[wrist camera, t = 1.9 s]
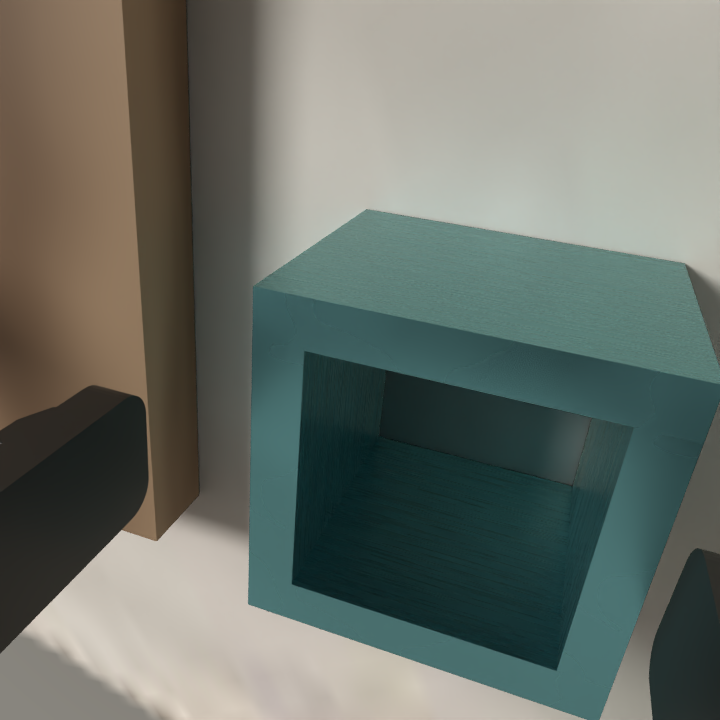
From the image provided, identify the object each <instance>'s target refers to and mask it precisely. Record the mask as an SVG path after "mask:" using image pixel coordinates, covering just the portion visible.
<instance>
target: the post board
mask: <svg viewBox="0 0 720 720" xmlns="http://www.w3.org/2000/svg"><path fill="white" fill-rule="evenodd" d="M91 385H98V386H101V387H105V388H109V389H113V390H116V391H120V392H124V393H127V394H131V395H135V396H138V397H140V398H141V399H142V400H143V402H144V404H145V408H146V423H147V447H148V470H149V482H148V489H147V493H146V496H145V499H144V501H143V503H142V505H141V507H140V509H139V511H138V512H137V514H136V515H135V516H134V517H133V519H132V520H131V521H130V522H129V523H128V524H127V525H126V526H125V527H124V528H123V529H122V530H123V531H127V532H130V533H133V534H136V535H139V536H142V537H145V538H148V539H151V540H154V541H158V539H159V538H160V537H161V536H162V535H163V534H164V533H165V532H166V531H167V530H168V528H169V527H170V526H171V525H172V524H173V523H174V522H175V521H176V520H177V519H178V517H179V516H180V515H181V514H182V513H183V512H184V511H185V510H186V509H187V508H188V507H189V505H190V504H191V503H192V502H193V501H194V500H195V499H196V498H197V497H198V496H199V469H198V431H197V394H196V357H195V320H194V283H193V245H192V208H191V171H190V134H189V96H188V59H187V22H186V0H0V430H2V429H3V428H5V427H6V426H8V425H10V424H11V423H13V422H14V421H16V420H17V419H20V418H23V417H26V416H29V415H31V414H34V413H37V412H40V411H43V410H46V409H49V408H51V407H57V406H59V405H60V404H62V403H63V402H65V401H66V400H68V399H69V398H71V397H72V396H74V395H75V394H77V393H78V392H80V391H81V390H83V389H84V388H86V387H88V386H91Z"/></svg>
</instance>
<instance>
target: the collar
mask: <svg viewBox="0 0 720 720" xmlns="http://www.w3.org/2000/svg"><path fill="white" fill-rule="evenodd" d="M387 370H389V371H393V372H397V373H402V374H406V375H410V376H415V377H419V378H423V379H427V380H432V381H436V382H440V383H445V384H449V385H453V386H458V387H462V388H466V389H471V390H475V391H479V392H484V393H488V394H492V395H497V396H501V397H505V398H510V399H514V400H518V401H523V402H527V403H531V404H536V405H540V406H544V407H548V408H553V409H557V410H561V411H566V412H570V413H574V414H579V415H583V416H587V417H592V419H591V423H590V426H589V430H588V433H587V437H586V440H585V444H584V447H583V451H582V454H581V458H580V461H579V465H578V468H577V472H576V476H575V479H574V483H573V486H570V485H566V484H562V483H558V482H554V481H551V480H547V479H543V478H539V477H535V476H531V475H527V474H523V473H520V472H516V471H512V470H508V469H504V468H500V467H496V466H492V465H488V464H485V463H481V462H477V461H473V460H469V459H465V458H461V457H457V456H454V455H450V454H446V453H442V452H438V451H434V450H430V449H426V448H423V447H419V446H415V445H411V444H407V443H403V442H399V441H395V440H392V439H388V438H384V437H380V436H379V432H380V423H381V414H382V406H383V397H384V389H385V380H386V372H387ZM719 402H720V367H719V364H718V361H717V358H716V355H715V352H714V349H713V346H712V343H711V340H710V337H709V334H708V331H707V328H706V325H705V322H704V319H703V316H702V314H701V311H700V308H699V305H698V302H697V299H696V296H695V293H694V290H693V287H692V284H691V281H690V278H689V275H688V272H687V269H686V266H685V263H679V262H673V261H667V260H661V259H655V258H650V257H644V256H638V255H632V254H626V253H620V252H614V251H608V250H603V249H597V248H591V247H585V246H579V245H573V244H567V243H562V242H556V241H550V240H544V239H538V238H532V237H526V236H520V235H515V234H509V233H503V232H497V231H491V230H485V229H479V228H474V227H468V226H462V225H456V224H450V223H444V222H438V221H432V220H427V219H421V218H415V217H409V216H403V215H397V214H391V213H385V212H380V211H374V210H368V209H366V210H365V211H363V212H362V213H360V214H359V215H357V216H356V217H354V218H353V219H351V220H350V221H349V222H347V223H346V224H344V225H343V226H341V227H340V228H338V229H337V230H335V231H334V232H332V233H331V234H329V235H328V236H326V237H325V238H323V239H322V240H321V241H319V242H318V243H316V244H315V245H313V246H312V247H310V248H309V249H307V250H306V251H304V252H303V253H301V254H300V255H298V256H297V257H296V258H294V259H293V260H291V261H290V262H288V263H287V264H285V265H284V266H282V267H281V268H279V269H278V270H276V271H275V272H273V273H272V274H270V275H269V276H268V277H266V278H265V279H263V280H262V281H260V282H259V283H257V284H256V285H254V286H253V330H252V394H251V459H250V524H249V588H248V604H249V605H252V606H255V607H258V608H261V609H264V610H267V611H270V612H272V613H275V614H278V615H281V616H284V617H287V618H290V619H293V620H296V621H299V622H302V623H305V624H308V625H311V626H314V627H317V628H319V629H322V630H325V631H328V632H331V633H334V634H337V635H340V636H343V637H346V638H349V639H352V640H355V641H358V642H361V643H364V644H366V645H369V646H372V647H375V648H378V649H381V650H384V651H387V652H390V653H393V654H396V655H399V656H402V657H405V658H408V659H411V660H413V661H416V662H419V663H422V664H425V665H428V666H431V667H434V668H437V669H440V670H443V671H446V672H449V673H452V674H455V675H458V676H460V677H463V678H466V679H469V680H472V681H475V682H478V683H481V684H484V685H487V686H490V687H493V688H496V689H499V690H502V691H504V692H507V693H510V694H513V695H516V696H519V697H522V698H525V699H528V700H531V701H534V702H537V703H540V704H543V705H546V706H549V707H551V708H554V709H557V710H560V711H563V712H566V713H569V714H572V715H575V716H578V717H581V718H584V719H587V720H599V719H600V717H601V714H602V711H603V709H604V706H605V703H606V701H607V698H608V695H609V693H610V690H611V687H612V685H613V682H614V680H615V677H616V674H617V672H618V669H619V666H620V664H621V661H622V658H623V656H624V653H625V650H626V648H627V645H628V642H629V640H630V637H631V635H632V632H633V629H634V627H635V624H636V621H637V619H638V616H639V613H640V611H641V608H642V605H643V603H644V600H645V598H646V595H647V592H648V590H649V587H650V584H651V582H652V579H653V576H654V574H655V571H656V568H657V566H658V563H659V561H660V558H661V555H662V553H663V550H664V547H665V545H666V542H667V539H668V537H669V534H670V531H671V529H672V526H673V523H674V521H675V518H676V516H677V513H678V510H679V508H680V505H681V502H682V500H683V497H684V494H685V492H686V489H687V486H688V484H689V481H690V479H691V476H692V473H693V471H694V468H695V465H696V463H697V460H698V457H699V455H700V452H701V449H702V447H703V444H704V441H705V439H706V436H707V434H708V431H709V428H710V426H711V423H712V420H713V418H714V415H715V412H716V410H717V407H718V404H719Z"/></svg>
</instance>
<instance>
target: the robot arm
mask: <svg viewBox="0 0 720 720" xmlns="http://www.w3.org/2000/svg"><path fill="white" fill-rule="evenodd" d="M148 482H149V470H148V447H147V423H146V408H145V404H144V402H143V400H142V399H141V398H140V397H138V396H135V395H131V394H127V393H124V392H120V391H116V390H113V389H109V388H105V387H101V386H98V385H91V386H88V387H86V388H84V389H83V390H81V391H80V392H78V393H77V394H75V395H74V396H72V397H71V398H69V399H68V400H66V401H65V402H63V403H62V404H60V405H59V406H57V407H51V408H49V409H46V410H43V411H40V412H37V413H34V414H31V415H29V416H26V417H23V418H20V419H17V420H16V421H14V422H13V423H11V424H10V425H8V426H6V427H5V428H3V429H2V430H0V653H1V652H2V651H3V650H4V649H5V648H6V647H7V646H8V645H9V644H10V643H11V642H12V641H13V640H14V639H15V638H16V637H17V636H18V635H19V634H20V633H21V632H22V631H23V630H24V629H25V628H26V627H27V626H28V625H29V624H30V623H31V622H32V621H33V620H34V619H35V617H36V616H37V615H38V614H39V613H40V612H41V611H42V610H43V609H44V608H45V607H46V606H47V605H48V604H49V603H50V602H51V601H52V600H53V599H54V598H55V597H56V596H57V595H58V594H59V593H60V592H61V591H62V590H63V589H64V588H65V587H66V586H67V585H68V584H69V583H70V582H71V581H72V580H73V579H74V578H75V577H76V576H77V575H78V574H79V573H80V572H81V571H82V570H83V569H84V568H85V567H86V566H87V564H88V563H89V562H90V561H91V560H92V559H93V558H94V557H95V556H96V555H97V554H98V553H99V552H100V551H101V550H102V549H103V548H104V547H105V546H106V545H107V544H108V543H109V542H110V541H111V540H112V539H113V538H114V537H115V536H116V535H117V534H118V533H119V532H120V531H121V530H122V529H123V528H124V527H125V526H126V525H127V524H128V523H129V522H130V521H131V520H132V519H133V517H134V516H135V515H136V514H137V512H138V511H139V509H140V507H141V505H142V503H143V501H144V499H145V496H146V493H147V489H148ZM649 683H650V694H651V705H652V716H653V720H720V554H717V553H713V552H710V551H706V550H702V549H698V548H697V549H695V550H694V551H693V552H692V553H691V554H690V556H689V557H688V559H687V562H686V564H685V566H684V569H683V571H682V573H681V576H680V578H679V580H678V583H677V585H676V588H675V590H674V592H673V595H672V597H671V599H670V602H669V604H668V607H667V609H666V611H665V614H664V616H663V618H662V621H661V623H660V625H659V628H658V630H657V633H656V636H655V639H654V643H653V647H652V652H651V659H650V669H649Z"/></svg>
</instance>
